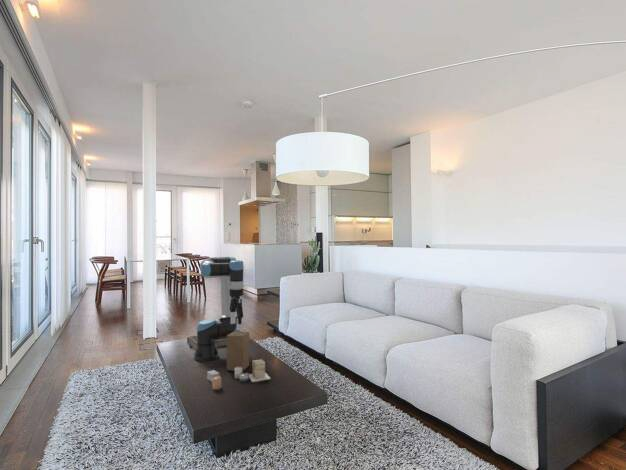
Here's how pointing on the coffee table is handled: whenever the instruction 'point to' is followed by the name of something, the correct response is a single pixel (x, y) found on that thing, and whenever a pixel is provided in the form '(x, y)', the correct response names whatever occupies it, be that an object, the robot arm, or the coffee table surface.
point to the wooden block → (237, 350)
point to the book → (193, 342)
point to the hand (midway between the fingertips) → (236, 326)
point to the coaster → (258, 378)
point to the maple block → (258, 369)
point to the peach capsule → (216, 383)
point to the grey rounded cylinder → (238, 372)
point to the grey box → (212, 374)
